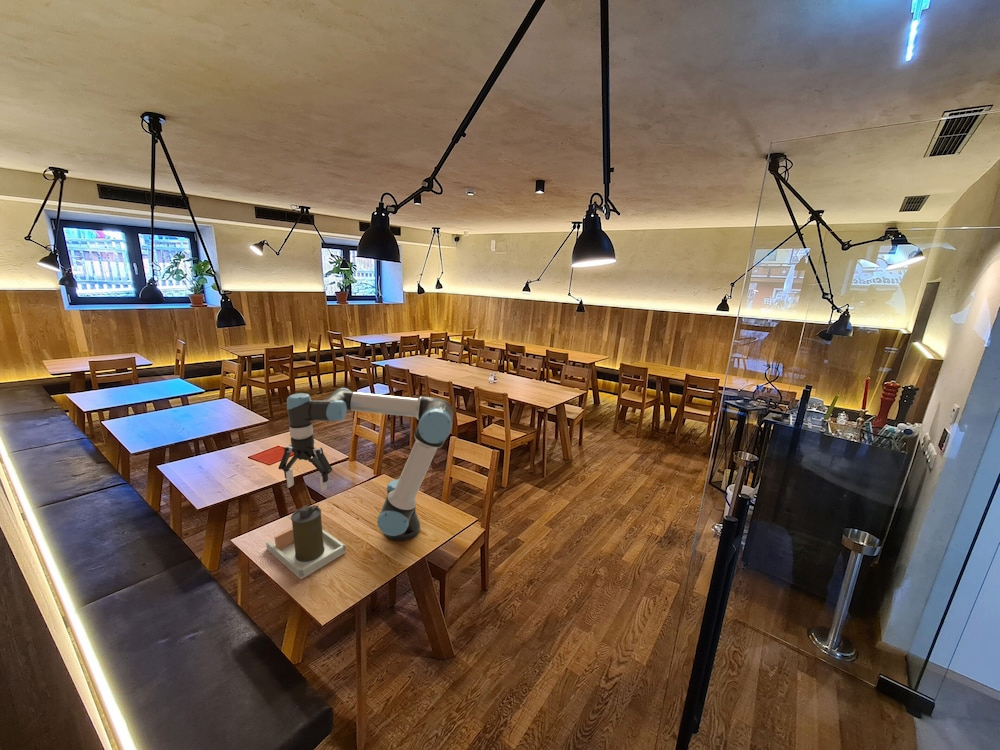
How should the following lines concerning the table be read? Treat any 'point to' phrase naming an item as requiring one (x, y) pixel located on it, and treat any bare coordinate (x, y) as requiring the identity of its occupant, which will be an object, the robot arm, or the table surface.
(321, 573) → the table surface
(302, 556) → the canister
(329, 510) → the table surface
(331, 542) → the white tray
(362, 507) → the table surface
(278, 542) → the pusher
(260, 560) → the table surface
